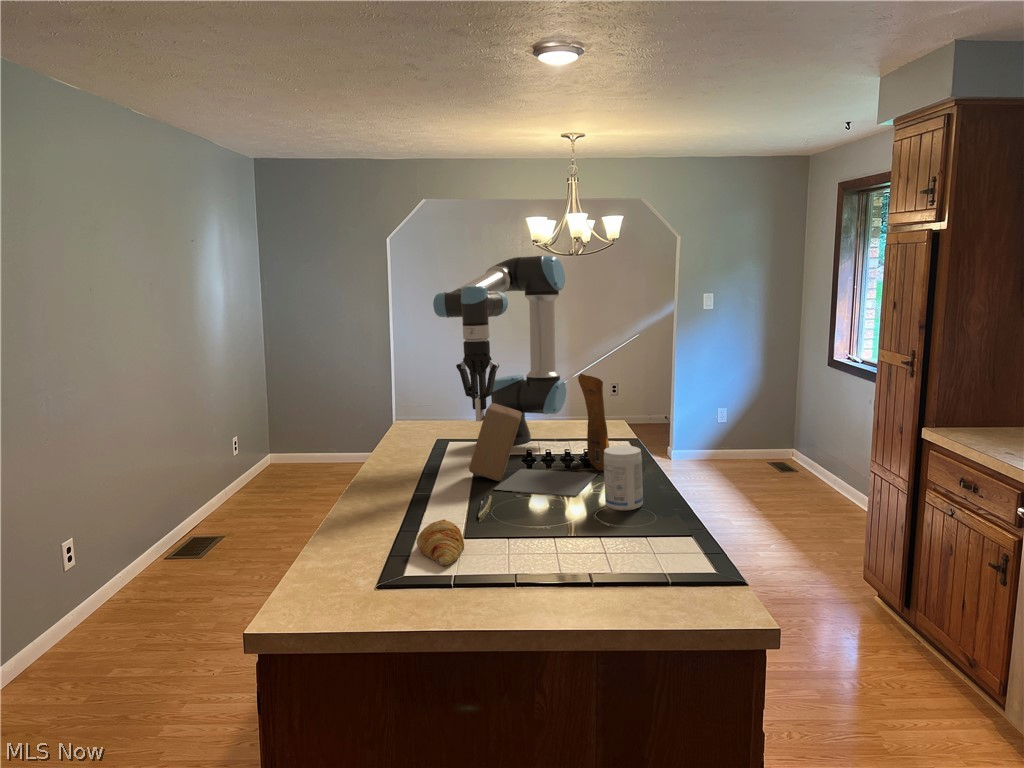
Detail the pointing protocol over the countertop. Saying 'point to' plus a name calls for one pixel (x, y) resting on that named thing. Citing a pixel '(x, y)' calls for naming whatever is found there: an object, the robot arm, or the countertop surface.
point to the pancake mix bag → (595, 419)
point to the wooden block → (495, 441)
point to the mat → (547, 482)
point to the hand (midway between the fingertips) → (480, 420)
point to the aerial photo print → (486, 505)
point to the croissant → (441, 542)
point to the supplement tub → (623, 477)
